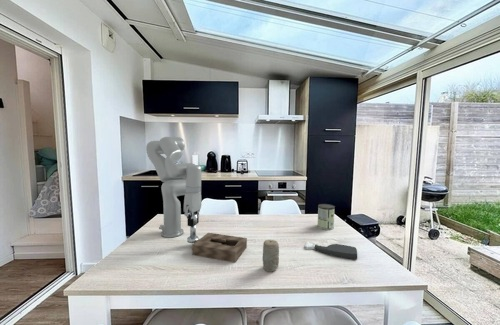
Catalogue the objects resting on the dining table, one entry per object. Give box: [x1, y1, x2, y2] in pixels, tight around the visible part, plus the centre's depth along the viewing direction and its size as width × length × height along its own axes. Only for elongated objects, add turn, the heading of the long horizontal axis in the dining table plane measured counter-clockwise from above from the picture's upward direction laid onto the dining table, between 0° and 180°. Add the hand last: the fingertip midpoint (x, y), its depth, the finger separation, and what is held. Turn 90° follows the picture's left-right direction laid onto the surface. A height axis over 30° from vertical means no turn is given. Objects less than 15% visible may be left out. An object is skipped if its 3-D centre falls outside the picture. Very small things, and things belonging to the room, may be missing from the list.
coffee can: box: [317, 203, 336, 231], centre depth 149 cm, size 10×10×14 cm
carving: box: [262, 239, 280, 272], centre depth 97 cm, size 6×8×12 cm
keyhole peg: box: [186, 213, 199, 244], centre depth 118 cm, size 6×6×14 cm
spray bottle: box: [304, 241, 358, 261], centre depth 115 cm, size 3×11×24 cm
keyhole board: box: [191, 232, 248, 263], centre depth 113 cm, size 22×16×5 cm
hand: (193, 224), depth 118 cm, fingers closed on keyhole peg, 4 cm apart
